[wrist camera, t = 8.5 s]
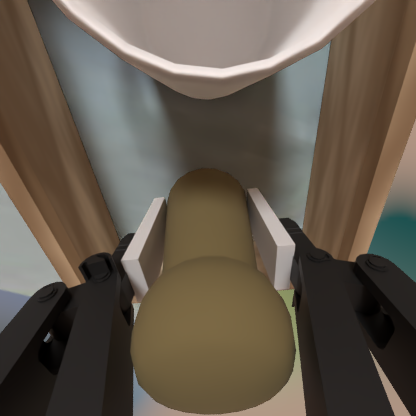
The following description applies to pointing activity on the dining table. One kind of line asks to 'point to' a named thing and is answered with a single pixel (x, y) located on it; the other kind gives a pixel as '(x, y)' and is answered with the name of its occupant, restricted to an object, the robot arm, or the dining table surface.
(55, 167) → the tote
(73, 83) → the dining table surface
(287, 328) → the cork
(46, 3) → the dining table surface
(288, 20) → the mug
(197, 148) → the dining table surface
